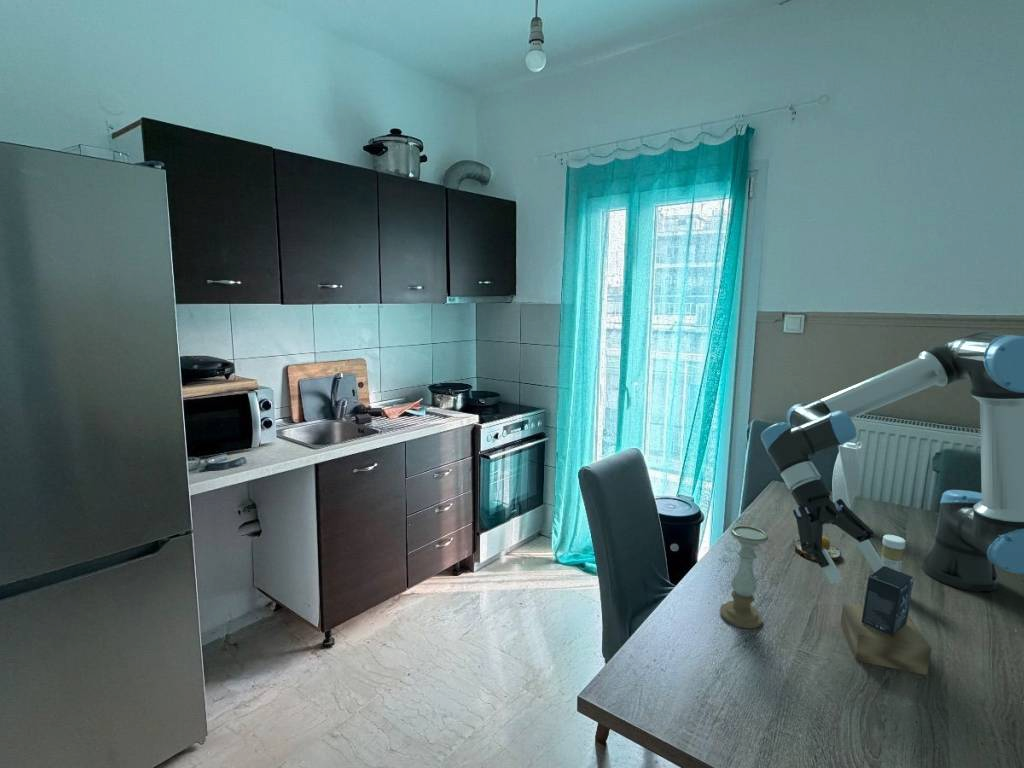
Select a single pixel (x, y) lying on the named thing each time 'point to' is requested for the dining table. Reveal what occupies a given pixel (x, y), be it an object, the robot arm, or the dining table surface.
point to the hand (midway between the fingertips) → (859, 576)
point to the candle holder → (744, 580)
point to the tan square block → (885, 643)
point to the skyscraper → (846, 473)
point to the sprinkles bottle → (893, 551)
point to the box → (887, 600)
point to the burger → (826, 545)
